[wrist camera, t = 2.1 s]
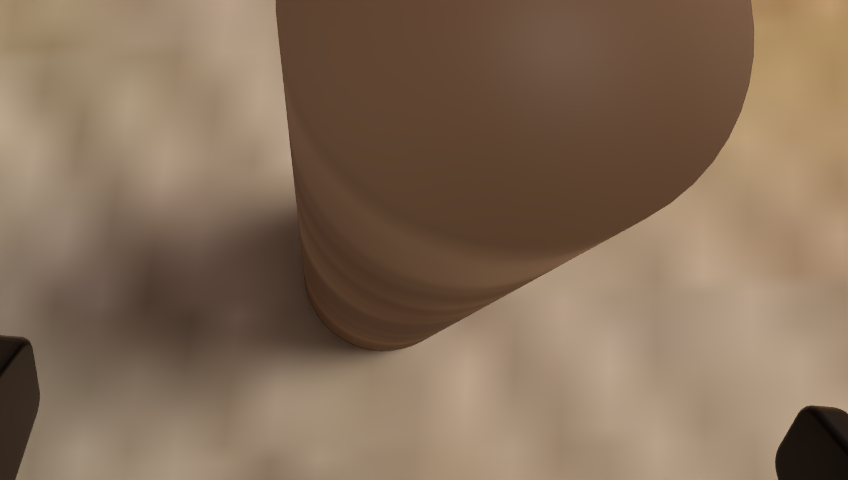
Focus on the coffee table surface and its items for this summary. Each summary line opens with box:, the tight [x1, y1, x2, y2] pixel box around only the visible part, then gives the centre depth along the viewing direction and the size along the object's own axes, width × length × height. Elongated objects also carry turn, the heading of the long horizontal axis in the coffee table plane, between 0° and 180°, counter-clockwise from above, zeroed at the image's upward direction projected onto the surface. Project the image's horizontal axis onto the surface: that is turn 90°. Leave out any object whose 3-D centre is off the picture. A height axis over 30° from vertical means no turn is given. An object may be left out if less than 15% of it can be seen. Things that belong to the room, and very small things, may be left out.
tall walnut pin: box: [276, 0, 754, 351], centre depth 13 cm, size 4×4×14 cm
